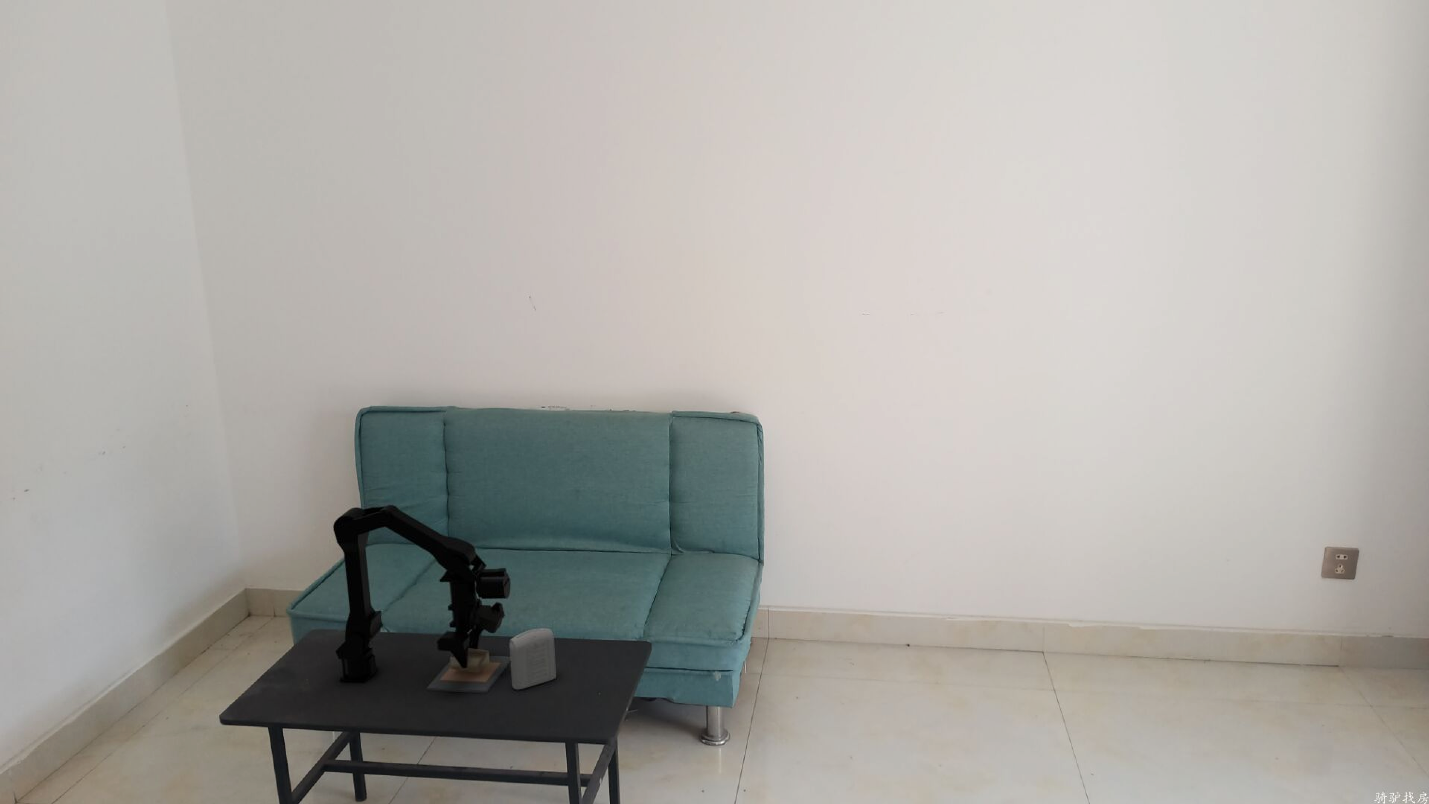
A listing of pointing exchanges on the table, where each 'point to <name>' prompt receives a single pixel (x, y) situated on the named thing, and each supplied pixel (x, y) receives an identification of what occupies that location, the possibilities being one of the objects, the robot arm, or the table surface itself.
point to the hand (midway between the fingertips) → (469, 661)
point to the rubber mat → (470, 677)
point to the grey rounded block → (532, 658)
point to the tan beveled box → (472, 661)
